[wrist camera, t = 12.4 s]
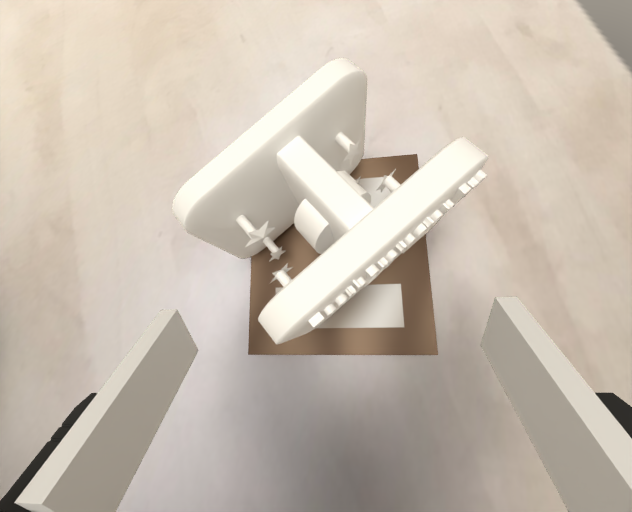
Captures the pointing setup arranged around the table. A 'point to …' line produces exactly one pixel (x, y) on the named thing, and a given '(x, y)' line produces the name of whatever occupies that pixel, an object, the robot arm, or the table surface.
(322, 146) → the cable organizer
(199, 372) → the table surface
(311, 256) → the mounting board
